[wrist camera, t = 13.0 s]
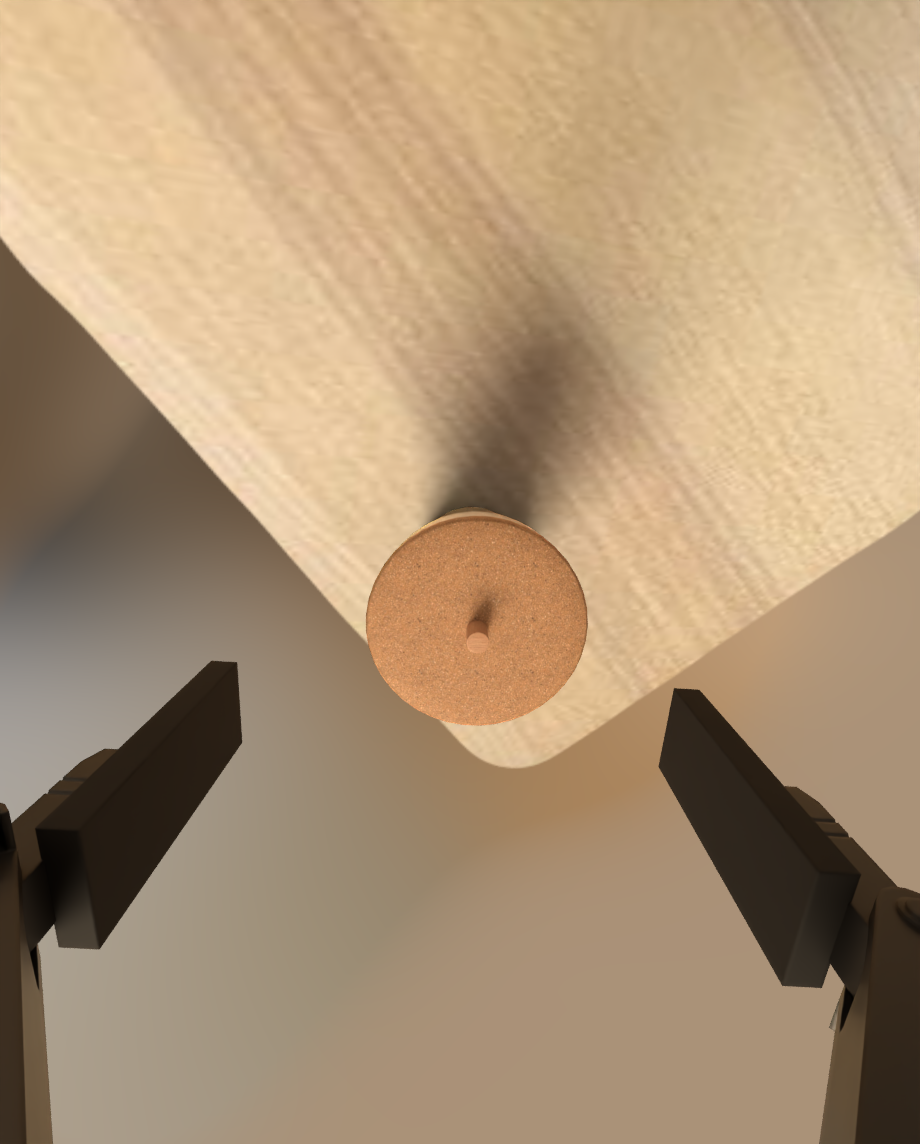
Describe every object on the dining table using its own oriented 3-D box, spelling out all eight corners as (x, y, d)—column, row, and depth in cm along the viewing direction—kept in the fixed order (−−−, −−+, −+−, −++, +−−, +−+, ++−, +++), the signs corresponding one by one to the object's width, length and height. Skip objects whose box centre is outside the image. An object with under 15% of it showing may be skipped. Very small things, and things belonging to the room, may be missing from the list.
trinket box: (557, 658, 34) (592, 743, 25) (392, 663, 34) (368, 749, 25) (561, 493, 31) (602, 521, 22) (381, 498, 31) (348, 529, 22)
